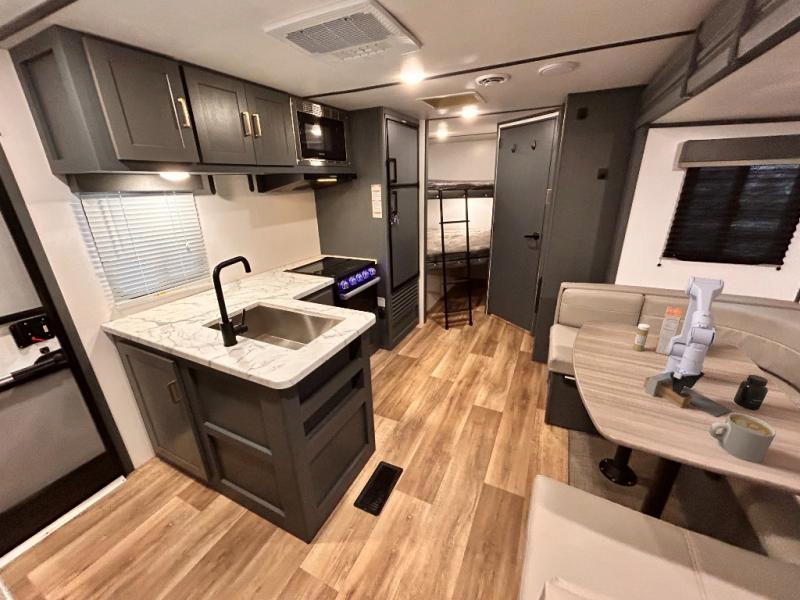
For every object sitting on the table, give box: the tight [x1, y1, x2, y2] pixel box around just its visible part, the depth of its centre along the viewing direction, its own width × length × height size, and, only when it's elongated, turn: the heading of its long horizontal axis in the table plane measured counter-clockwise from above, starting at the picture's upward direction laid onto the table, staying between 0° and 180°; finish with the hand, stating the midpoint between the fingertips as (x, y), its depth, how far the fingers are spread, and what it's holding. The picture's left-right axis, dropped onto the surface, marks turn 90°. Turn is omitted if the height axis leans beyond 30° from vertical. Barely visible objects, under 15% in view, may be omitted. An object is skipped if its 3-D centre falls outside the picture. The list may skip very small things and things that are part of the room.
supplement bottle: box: [733, 374, 769, 411], centre depth 115 cm, size 7×7×12 cm
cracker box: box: [654, 305, 683, 357], centre depth 154 cm, size 14×6×21 cm, turn 138°
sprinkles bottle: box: [632, 323, 651, 352], centre depth 155 cm, size 5×5×13 cm
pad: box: [682, 386, 733, 417], centre depth 119 cm, size 9×15×1 cm, turn 18°
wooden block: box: [643, 375, 692, 409], centre depth 122 cm, size 4×14×5 cm, turn 17°
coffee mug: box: [708, 412, 777, 463], centre depth 97 cm, size 13×10×10 cm
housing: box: [644, 371, 675, 397], centre depth 125 cm, size 13×3×7 cm, turn 108°
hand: (682, 389), depth 118 cm, fingers open, 7 cm apart
